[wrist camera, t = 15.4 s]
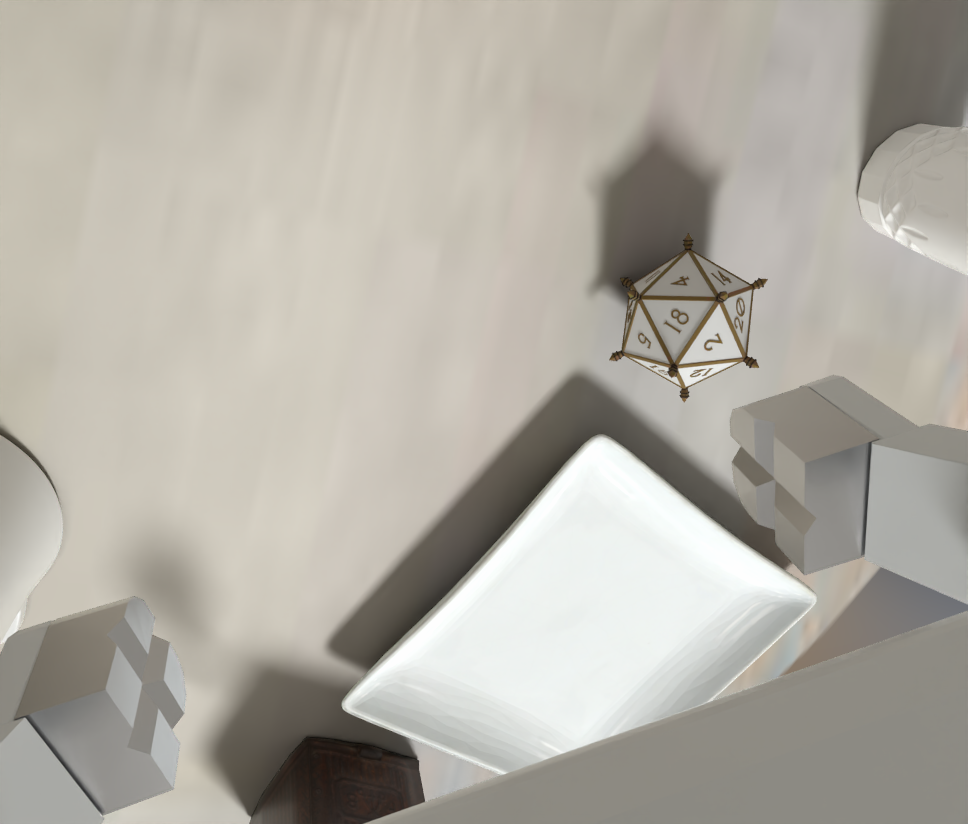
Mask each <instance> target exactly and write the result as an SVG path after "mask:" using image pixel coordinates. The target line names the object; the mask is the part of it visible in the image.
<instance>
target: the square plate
mask: <svg viewBox="0 0 968 824" xmlns="http://www.w3.org/2000/svg"><path fill="white" fill-rule="evenodd" d="M816 601H817V595H816V593H815V592H814V591H813V590H812V589H811V588H810V587H808V586H807V585H806V584H805V583H803V582H802V581H801V580H799V579H798V578H796V577H794V576H793V575H792V574H790V573H789V572H787V571H785V570H784V569H782V568H781V567H779V566H778V565H776V564H775V563H773V562H772V561H770V560H769V559H767V558H766V557H764V556H762V555H761V554H760V553H759V552H757V551H756V550H754V549H752V548H751V547H749V546H748V545H747V544H745V543H744V542H742V541H741V540H739V539H738V538H737V537H736V536H734V535H733V534H731V533H730V532H729V531H727V530H726V529H725V528H724V527H722V526H721V525H720V524H718V523H717V522H716V521H715V520H713V519H712V518H711V517H709V516H708V515H707V514H705V513H704V512H703V511H702V510H701V509H699V508H698V507H697V506H696V505H694V504H693V503H692V502H691V501H690V500H688V499H687V498H686V497H685V496H683V495H682V494H681V493H680V492H679V491H677V490H676V489H675V488H674V487H673V486H671V485H670V484H669V483H668V482H667V481H666V480H665V479H663V478H662V477H661V476H660V475H658V474H657V473H656V472H655V471H653V470H652V469H651V468H650V467H649V466H647V465H646V464H645V463H644V462H643V461H641V460H640V459H639V458H638V457H636V456H635V455H634V454H633V453H632V452H631V451H629V450H628V449H627V448H625V447H624V446H622V445H621V444H620V443H618V442H617V441H615V440H614V439H612V438H611V437H609V436H606V435H604V434H598V435H595V436H593V437H592V438H590V439H589V440H588V441H587V442H585V443H584V444H583V445H582V446H581V447H580V448H579V449H578V450H577V451H576V452H575V454H574V455H573V456H572V457H571V458H570V459H569V460H568V461H567V462H566V463H565V464H564V465H563V466H562V468H561V469H560V470H559V471H558V472H557V474H556V475H555V476H554V477H553V478H552V479H551V480H550V481H549V483H548V484H547V485H546V486H545V487H544V488H543V490H542V491H541V492H540V493H539V494H538V495H537V496H536V497H535V499H534V500H533V501H532V502H531V503H530V504H529V505H528V507H527V508H526V509H525V510H524V511H523V512H522V513H521V515H520V516H519V517H518V518H517V519H516V520H515V521H514V522H513V524H512V525H511V526H510V527H509V528H508V529H507V530H506V531H505V532H504V534H503V535H502V536H501V537H500V538H499V539H498V540H497V541H496V542H495V543H494V545H493V546H492V547H491V548H490V549H489V550H488V551H487V552H486V553H485V554H484V555H483V556H482V558H481V559H480V560H479V561H478V562H477V563H476V564H475V565H474V566H473V567H472V568H471V569H470V570H469V571H468V572H467V574H466V575H465V576H464V577H463V578H462V579H461V580H460V581H459V582H458V583H457V584H456V585H455V586H454V587H453V588H452V589H451V590H450V591H449V592H448V593H447V594H446V595H445V596H444V597H443V598H442V599H441V600H440V601H439V602H438V603H437V604H436V605H435V606H434V607H433V608H432V609H431V610H430V611H429V612H428V613H427V614H426V615H425V616H424V617H423V618H422V619H421V620H420V621H419V622H418V623H417V624H416V625H415V626H414V627H412V628H411V629H410V630H409V631H408V632H407V633H406V634H405V635H404V636H403V637H402V638H401V639H400V640H399V641H398V642H397V643H396V644H395V645H394V646H393V647H392V648H390V649H389V650H388V651H387V652H386V653H385V654H384V655H383V656H382V657H381V658H380V659H379V661H378V662H377V663H376V664H375V665H374V666H373V667H372V668H371V669H370V670H369V671H368V672H367V673H366V674H365V675H364V676H363V677H362V678H361V679H360V680H359V681H358V682H357V683H356V684H355V685H354V687H353V688H352V689H351V690H350V691H349V692H348V694H347V695H346V696H345V697H344V699H343V701H342V708H343V710H344V711H346V712H347V713H349V714H351V715H354V716H356V717H358V718H360V719H363V720H365V721H368V722H370V723H373V724H375V725H377V726H380V727H382V728H385V729H387V730H390V731H393V732H395V733H398V734H400V735H403V736H405V737H408V738H410V739H412V740H415V741H417V742H420V743H422V744H425V745H428V746H430V747H432V748H435V749H437V750H440V751H443V752H445V753H448V754H450V755H453V756H455V757H458V758H460V759H463V760H465V761H468V762H471V763H473V764H476V765H478V766H480V767H483V768H485V769H488V770H491V771H493V772H495V773H498V774H500V775H503V774H506V773H508V772H511V771H514V770H517V769H520V768H523V767H525V766H528V765H531V764H534V763H537V762H540V761H542V760H545V759H548V758H551V757H554V756H556V755H559V754H562V753H565V752H568V751H571V750H573V749H576V748H579V747H582V746H585V745H588V744H590V743H593V742H596V741H599V740H602V739H605V738H607V737H610V736H613V735H616V734H619V733H622V732H624V731H627V730H630V729H633V728H636V727H639V726H641V725H644V724H647V723H650V722H653V721H656V720H659V719H661V718H664V717H667V716H670V715H673V714H676V713H679V712H681V711H684V710H687V709H690V708H693V707H696V706H699V705H701V704H704V703H707V702H710V701H712V700H713V699H714V698H715V697H716V696H717V695H718V694H719V693H720V692H722V691H723V690H724V689H725V688H726V687H727V686H728V685H729V684H730V683H732V682H733V681H734V680H735V679H736V678H737V677H738V676H739V675H740V674H741V673H742V672H743V671H745V670H746V669H747V668H748V667H749V666H750V665H751V664H752V663H753V662H754V661H755V660H757V659H758V658H759V657H760V656H761V655H762V654H763V653H764V652H765V651H766V650H767V649H768V648H769V647H771V646H772V645H773V644H774V643H775V642H776V641H777V640H778V639H779V638H780V637H781V636H782V635H783V634H784V633H785V632H787V631H788V630H789V629H790V628H791V627H792V626H793V625H794V624H795V623H796V622H797V621H798V620H799V619H800V618H802V617H803V616H804V615H805V614H806V613H807V612H808V611H809V610H810V609H811V608H812V607H813V606H814V604H815V603H816Z"/></svg>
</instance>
